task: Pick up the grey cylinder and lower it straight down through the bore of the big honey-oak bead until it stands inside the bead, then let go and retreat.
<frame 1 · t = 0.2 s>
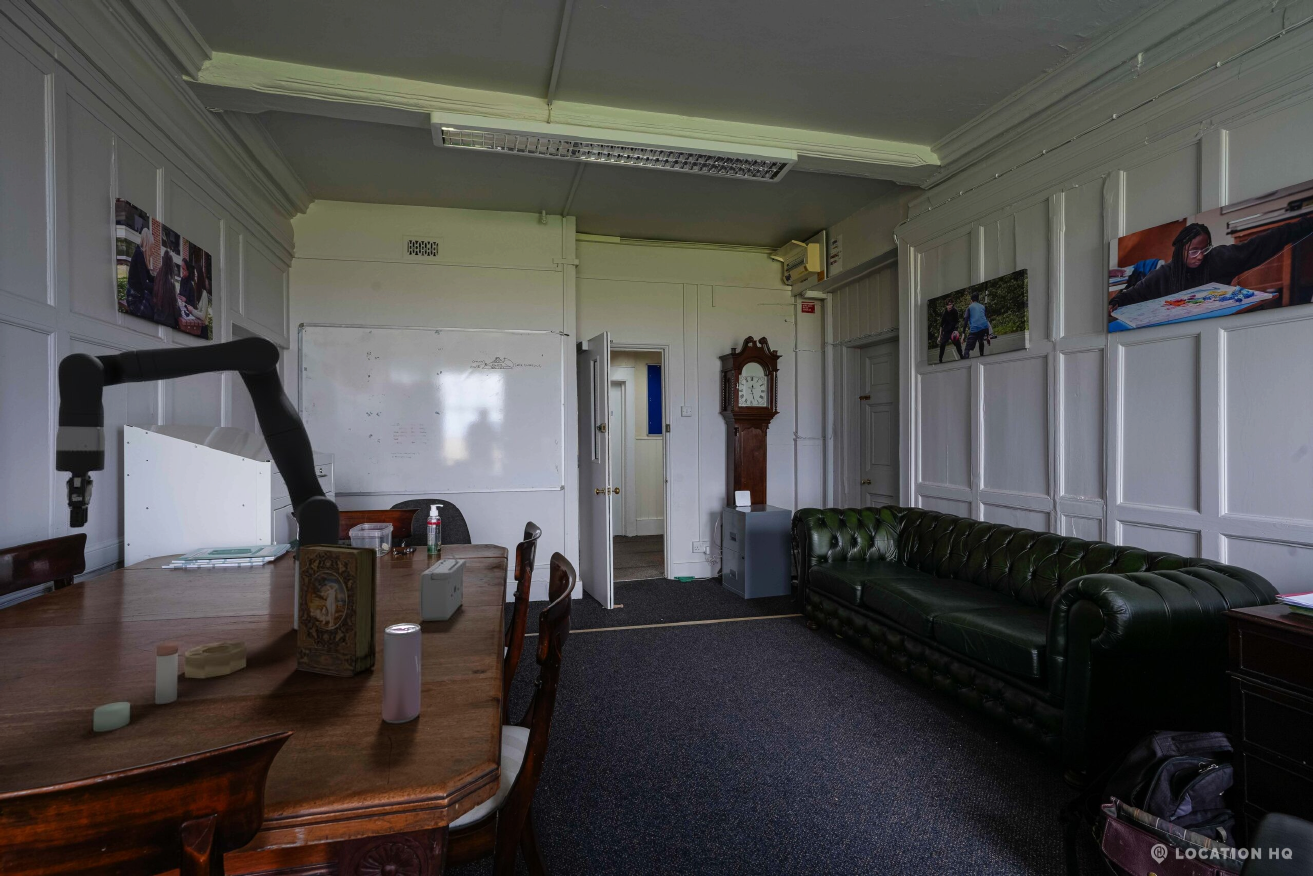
hand: (78, 525, 128), 29 cm above the table, fingers open, 8 cm apart
book: (333, 670, 126), on the table
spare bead: (111, 725, 100), on the table
bead: (215, 668, 125), on the table
grey cylinder: (166, 700, 109), on the table
beverage can: (401, 718, 103), on the table
stereo radio cassette player: (443, 613, 171), on the table
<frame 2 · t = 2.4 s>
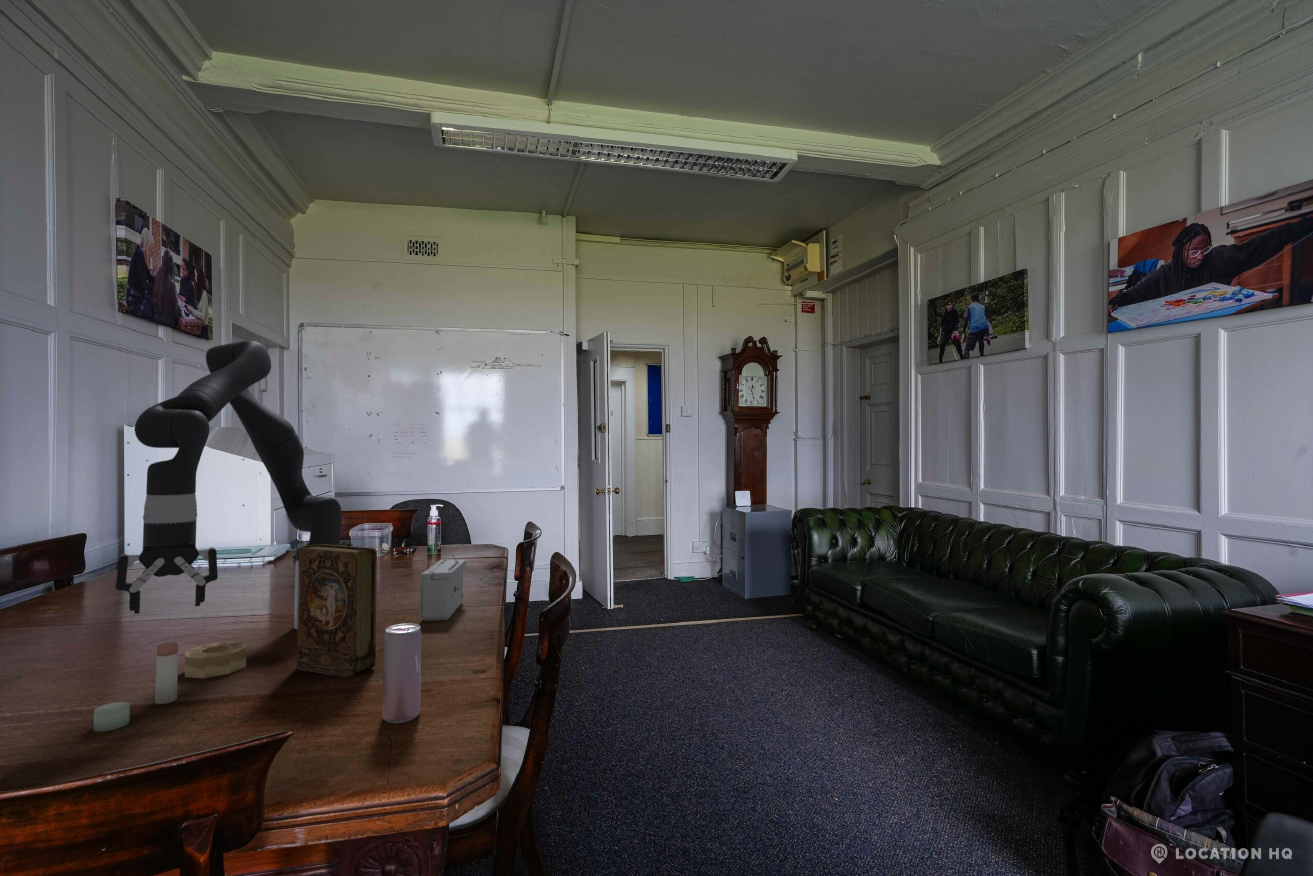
hand: (167, 609, 110), 16 cm above the table, fingers open, 8 cm apart
nothing on the table moved.
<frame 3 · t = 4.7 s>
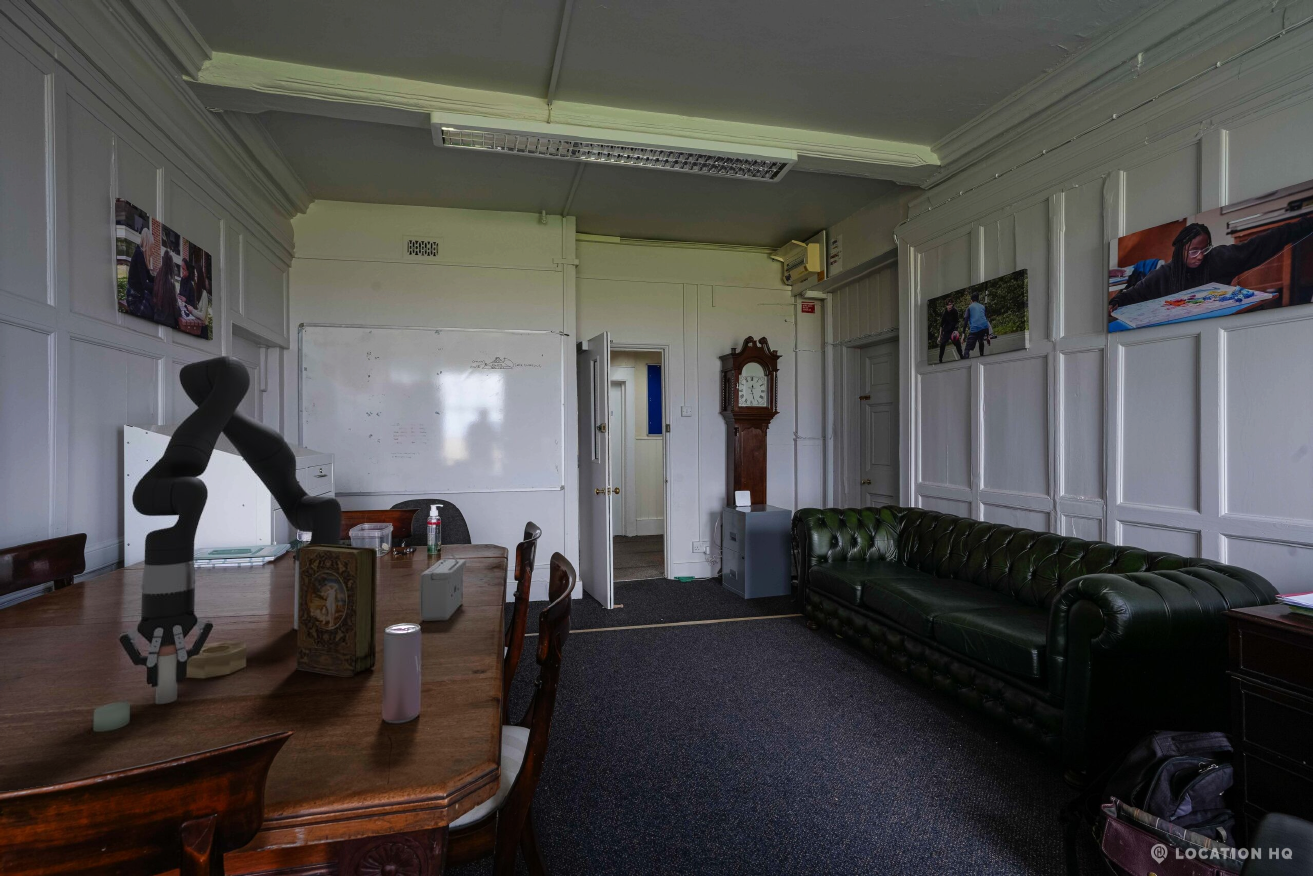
hand: (166, 683, 109), 3 cm above the table, fingers closed on grey cylinder, 3 cm apart
grey cylinder: (166, 700, 109), on the table, touching gripper
everything else where it was.
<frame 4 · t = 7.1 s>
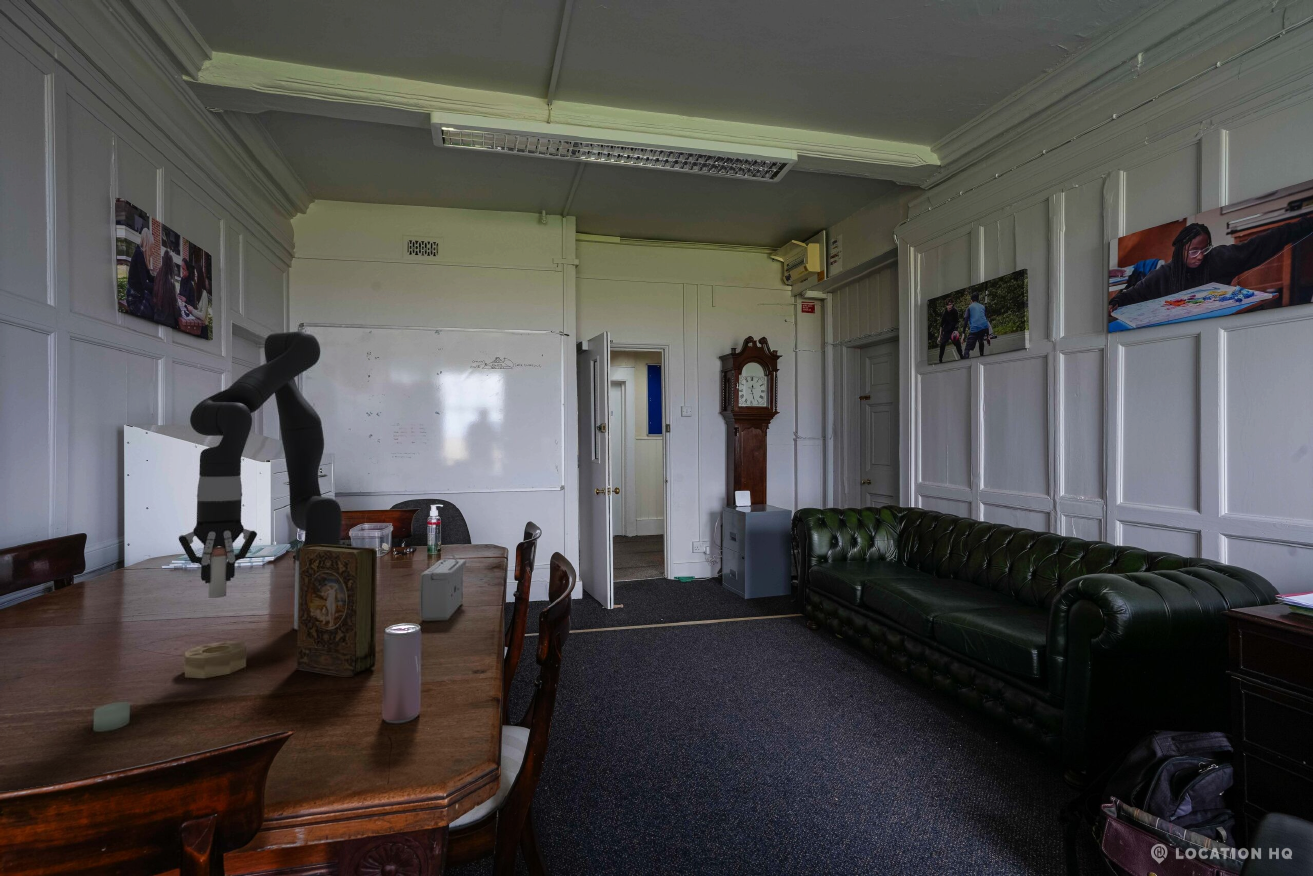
hand: (217, 581, 126), 18 cm above the table, fingers closed on grey cylinder, 3 cm apart
grey cylinder: (217, 596, 126), point 15 cm above the table, touching gripper
everything else where it was.
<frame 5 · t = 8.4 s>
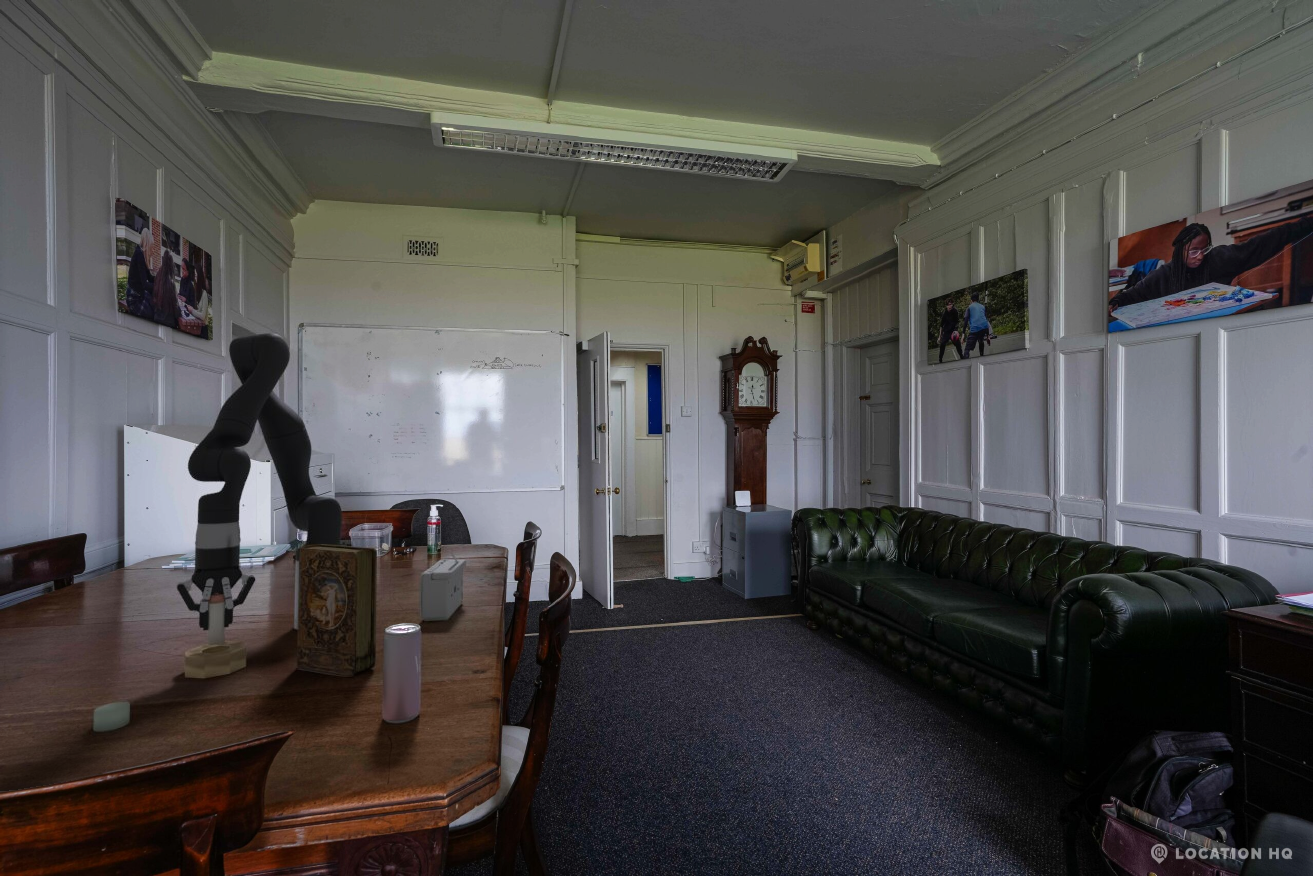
hand: (215, 627, 125), 8 cm above the table, fingers closed on grey cylinder, 3 cm apart
grey cylinder: (215, 642, 125), point 5 cm above the table, touching gripper
everything else where it was.
when the fingers open (4 cm above the table, at t = 9.5 s): grey cylinder drops 1 cm, resting in bead.
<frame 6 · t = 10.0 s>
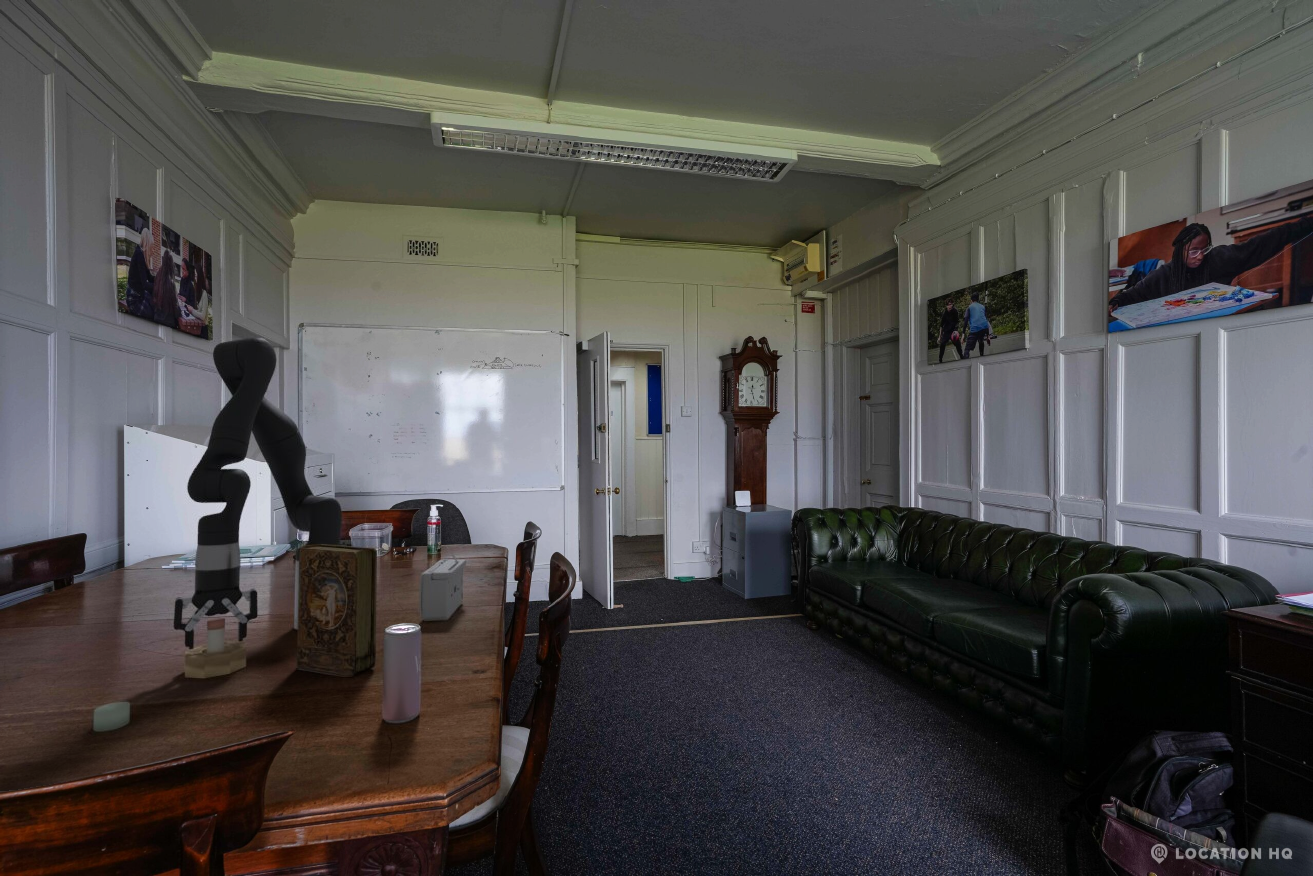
hand: (216, 644, 125), 5 cm above the table, fingers open, 8 cm apart
grey cylinder: (215, 669, 125), resting in bead
everything else where it was.
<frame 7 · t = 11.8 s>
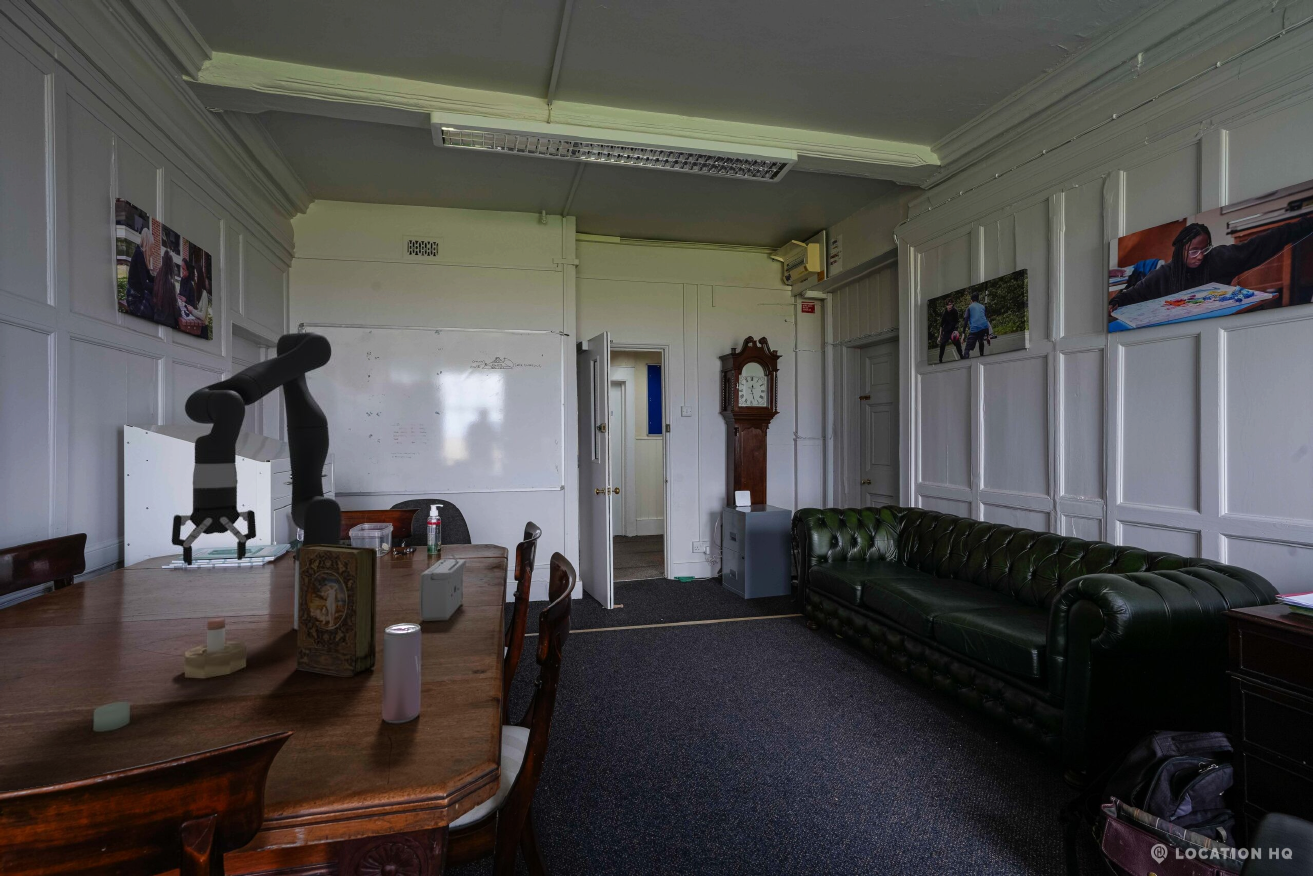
hand: (214, 562, 128), 22 cm above the table, fingers open, 8 cm apart
nothing on the table moved.
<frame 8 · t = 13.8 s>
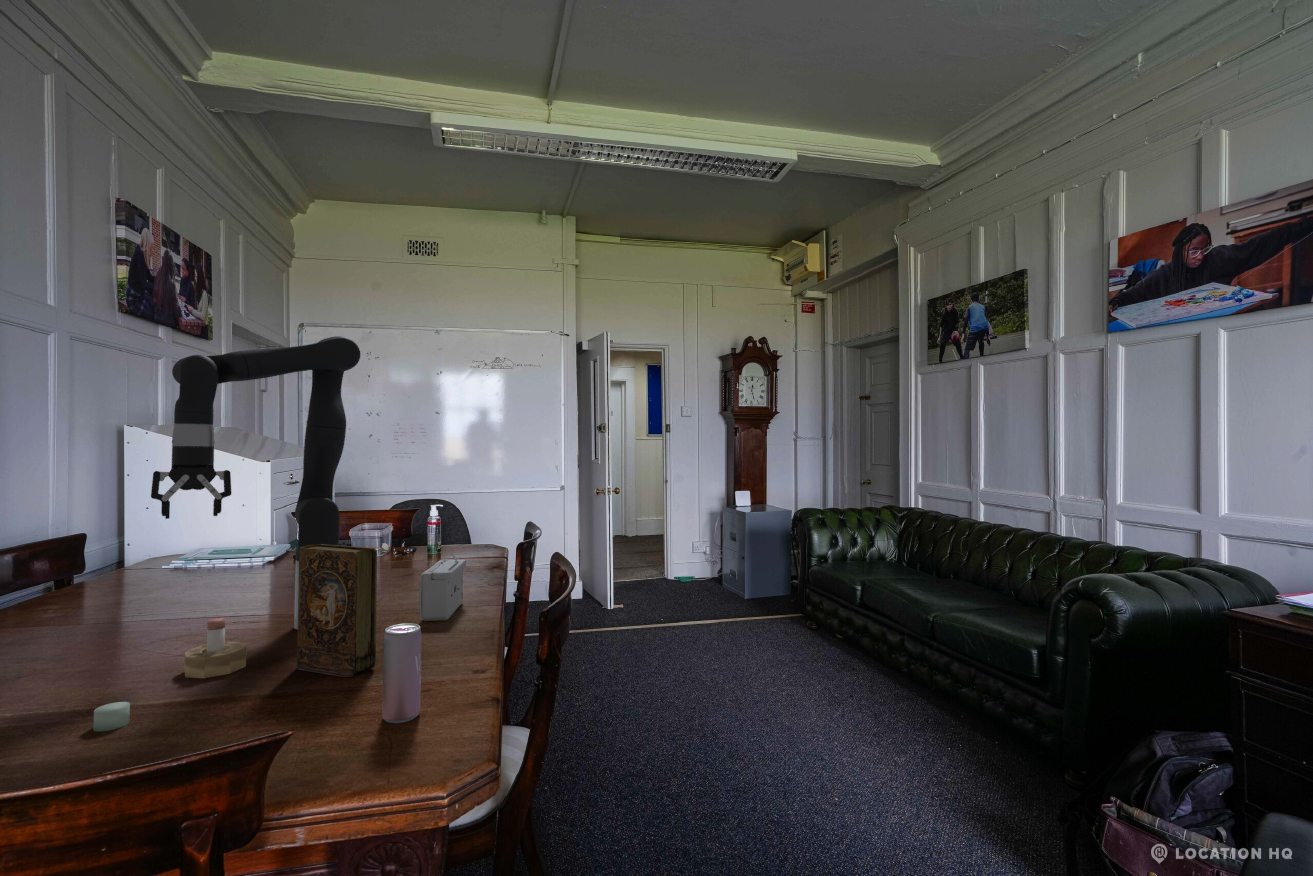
hand: (191, 517, 136), 30 cm above the table, fingers open, 8 cm apart
nothing on the table moved.
at the end: grey cylinder 0.0 cm off-centre on the bead, point 0.0 cm above the bead's base; grey cylinder tilted 0°; the gripper is holding nothing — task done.
